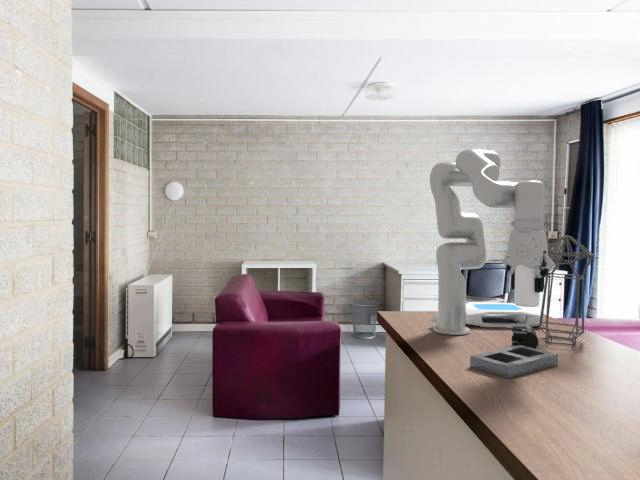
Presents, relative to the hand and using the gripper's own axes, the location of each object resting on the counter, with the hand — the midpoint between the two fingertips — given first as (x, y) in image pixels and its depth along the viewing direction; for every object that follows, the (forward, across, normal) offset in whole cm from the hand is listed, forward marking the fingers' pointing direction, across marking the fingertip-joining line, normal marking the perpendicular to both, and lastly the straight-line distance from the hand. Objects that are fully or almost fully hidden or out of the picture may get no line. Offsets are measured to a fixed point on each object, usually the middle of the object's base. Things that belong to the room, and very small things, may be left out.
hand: (527, 289), depth 142 cm
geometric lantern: (+21, -8, +33) cm, 40 cm away
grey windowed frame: (+21, 0, -5) cm, 21 cm away
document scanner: (+21, -40, +41) cm, 61 cm away
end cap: (+21, -9, +13) cm, 26 cm away
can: (+4, 0, 0) cm, 4 cm away
